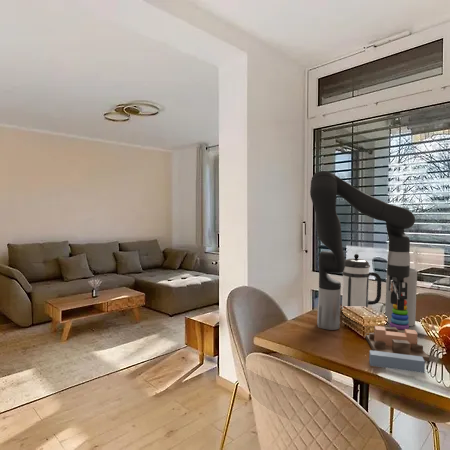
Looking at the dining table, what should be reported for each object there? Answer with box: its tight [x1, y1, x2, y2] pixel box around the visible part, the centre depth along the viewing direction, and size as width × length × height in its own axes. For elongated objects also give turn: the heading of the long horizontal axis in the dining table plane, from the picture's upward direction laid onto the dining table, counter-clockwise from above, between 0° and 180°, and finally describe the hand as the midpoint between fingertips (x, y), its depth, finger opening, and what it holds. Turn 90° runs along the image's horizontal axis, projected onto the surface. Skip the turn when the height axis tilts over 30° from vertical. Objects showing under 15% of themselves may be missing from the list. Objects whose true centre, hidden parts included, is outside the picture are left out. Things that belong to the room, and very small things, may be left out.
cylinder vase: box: [384, 268, 418, 327], centre depth 164 cm, size 12×12×25 cm
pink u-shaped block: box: [373, 325, 418, 348], centre depth 133 cm, size 14×4×6 cm, turn 72°
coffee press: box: [340, 253, 382, 311], centre depth 178 cm, size 17×16×30 cm
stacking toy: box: [389, 294, 410, 333], centre depth 151 cm, size 8×8×19 cm
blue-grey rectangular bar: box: [368, 349, 426, 374], centre depth 117 cm, size 16×4×4 cm, turn 73°
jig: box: [365, 325, 430, 362], centre depth 133 cm, size 17×20×5 cm
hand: (396, 306), depth 133 cm, fingers open, 8 cm apart
